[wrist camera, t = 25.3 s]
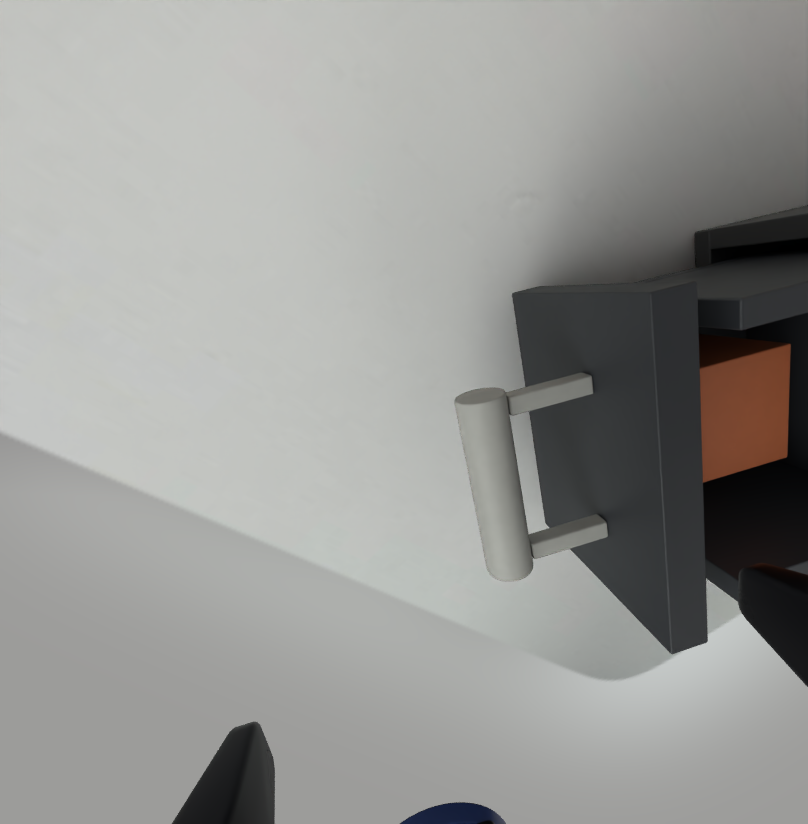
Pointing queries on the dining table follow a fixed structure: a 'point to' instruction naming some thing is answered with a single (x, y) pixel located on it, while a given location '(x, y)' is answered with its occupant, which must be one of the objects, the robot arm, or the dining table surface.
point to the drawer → (643, 439)
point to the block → (742, 403)
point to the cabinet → (753, 237)
